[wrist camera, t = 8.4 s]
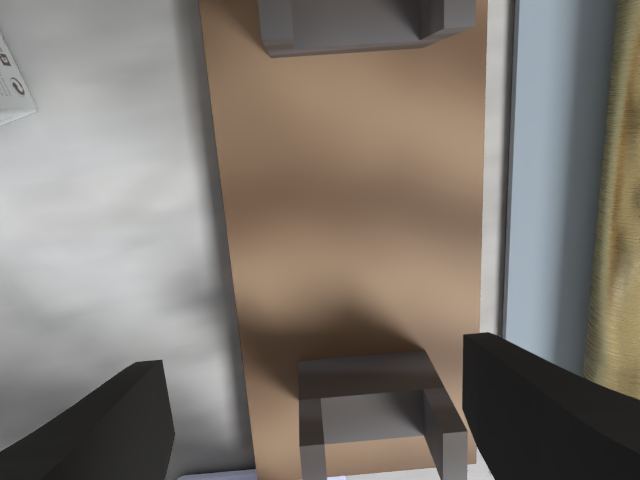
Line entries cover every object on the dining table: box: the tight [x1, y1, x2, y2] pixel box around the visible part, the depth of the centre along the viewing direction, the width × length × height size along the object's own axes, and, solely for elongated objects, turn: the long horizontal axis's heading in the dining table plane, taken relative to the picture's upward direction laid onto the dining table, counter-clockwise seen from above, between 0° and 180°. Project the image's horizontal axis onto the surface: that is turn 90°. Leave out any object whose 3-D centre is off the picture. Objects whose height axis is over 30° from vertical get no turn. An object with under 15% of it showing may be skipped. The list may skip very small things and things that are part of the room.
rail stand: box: [198, 0, 488, 480], centre depth 17 cm, size 24×10×6 cm, turn 4°
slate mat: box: [502, 0, 617, 377], centre depth 20 cm, size 28×9×1 cm, turn 4°
